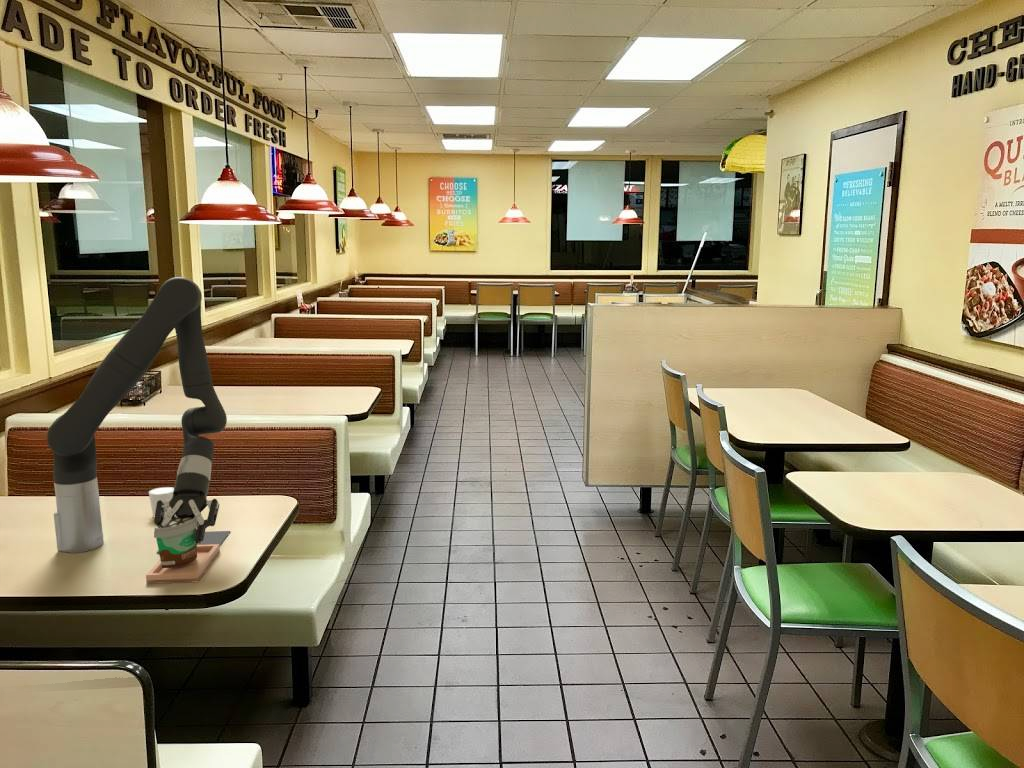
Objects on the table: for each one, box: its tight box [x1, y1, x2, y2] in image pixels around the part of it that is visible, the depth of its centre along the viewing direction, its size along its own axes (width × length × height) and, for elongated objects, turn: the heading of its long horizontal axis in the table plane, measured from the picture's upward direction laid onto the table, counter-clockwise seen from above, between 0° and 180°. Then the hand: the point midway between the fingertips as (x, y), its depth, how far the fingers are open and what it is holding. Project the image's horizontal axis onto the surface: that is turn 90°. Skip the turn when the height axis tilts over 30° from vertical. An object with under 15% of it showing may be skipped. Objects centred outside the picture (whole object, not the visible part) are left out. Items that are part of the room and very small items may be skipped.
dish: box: [145, 544, 221, 585], centre depth 178 cm, size 11×17×2 cm, turn 5°
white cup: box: [148, 486, 174, 518], centre depth 213 cm, size 7×7×7 cm
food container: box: [153, 516, 199, 568], centre depth 177 cm, size 12×6×10 cm, turn 170°
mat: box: [156, 530, 231, 554], centre depth 193 cm, size 14×13×1 cm
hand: (181, 542), depth 176 cm, fingers closed on food container, 6 cm apart
